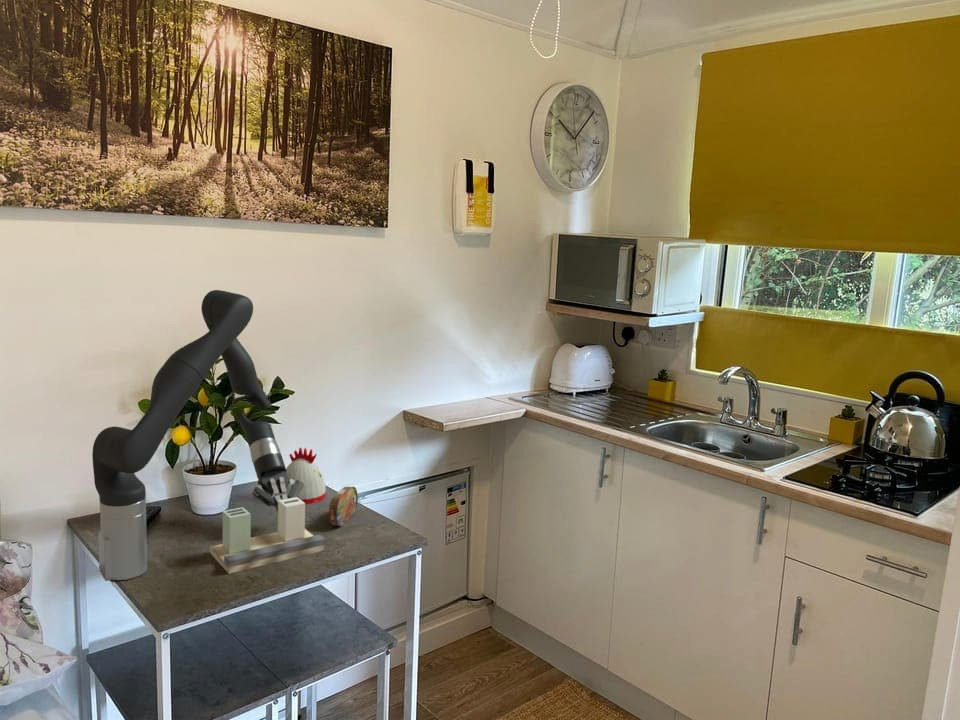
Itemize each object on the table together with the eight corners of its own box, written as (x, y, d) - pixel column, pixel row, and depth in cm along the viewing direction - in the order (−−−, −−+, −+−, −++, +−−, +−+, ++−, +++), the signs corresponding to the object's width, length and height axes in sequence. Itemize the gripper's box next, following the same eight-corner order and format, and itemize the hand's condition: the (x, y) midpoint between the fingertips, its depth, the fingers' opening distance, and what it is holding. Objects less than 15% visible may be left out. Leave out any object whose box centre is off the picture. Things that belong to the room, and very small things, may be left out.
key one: (285, 541, 181) (286, 506, 179) (277, 534, 185) (278, 499, 183) (304, 536, 184) (305, 502, 182) (296, 530, 188) (296, 496, 186)
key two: (229, 553, 172) (229, 517, 171) (222, 546, 176) (222, 510, 175) (250, 549, 175) (250, 513, 174) (242, 541, 179) (243, 506, 178)
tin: (337, 531, 193) (338, 501, 192) (326, 529, 194) (327, 499, 192) (358, 511, 208) (359, 482, 206) (347, 509, 208) (348, 481, 207)
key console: (228, 573, 166) (228, 561, 166) (209, 552, 176) (209, 540, 176) (324, 550, 181) (325, 538, 181) (302, 531, 191) (302, 521, 190)
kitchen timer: (315, 507, 208) (316, 457, 206) (269, 501, 210) (270, 452, 208) (332, 491, 222) (333, 443, 219) (289, 486, 224) (290, 439, 221)
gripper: (246, 455, 187) (265, 516, 180) (294, 448, 195) (314, 506, 188) (239, 469, 192) (256, 529, 185) (286, 462, 200) (305, 519, 193)
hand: (285, 517), depth 186 cm, fingers closed
